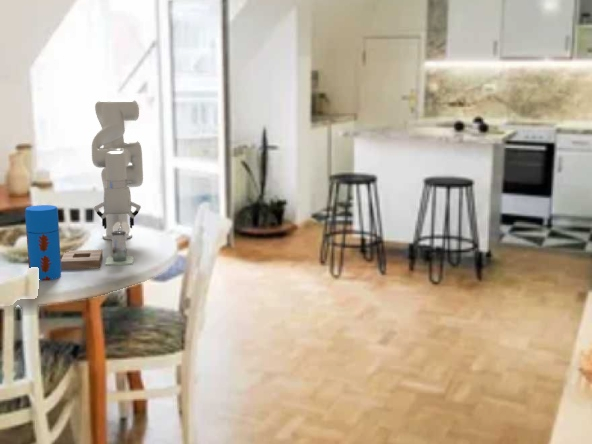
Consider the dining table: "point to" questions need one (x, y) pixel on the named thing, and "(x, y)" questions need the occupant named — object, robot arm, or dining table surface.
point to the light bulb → (122, 227)
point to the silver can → (119, 246)
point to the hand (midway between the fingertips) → (118, 227)
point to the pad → (111, 262)
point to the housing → (81, 259)
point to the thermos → (43, 240)
